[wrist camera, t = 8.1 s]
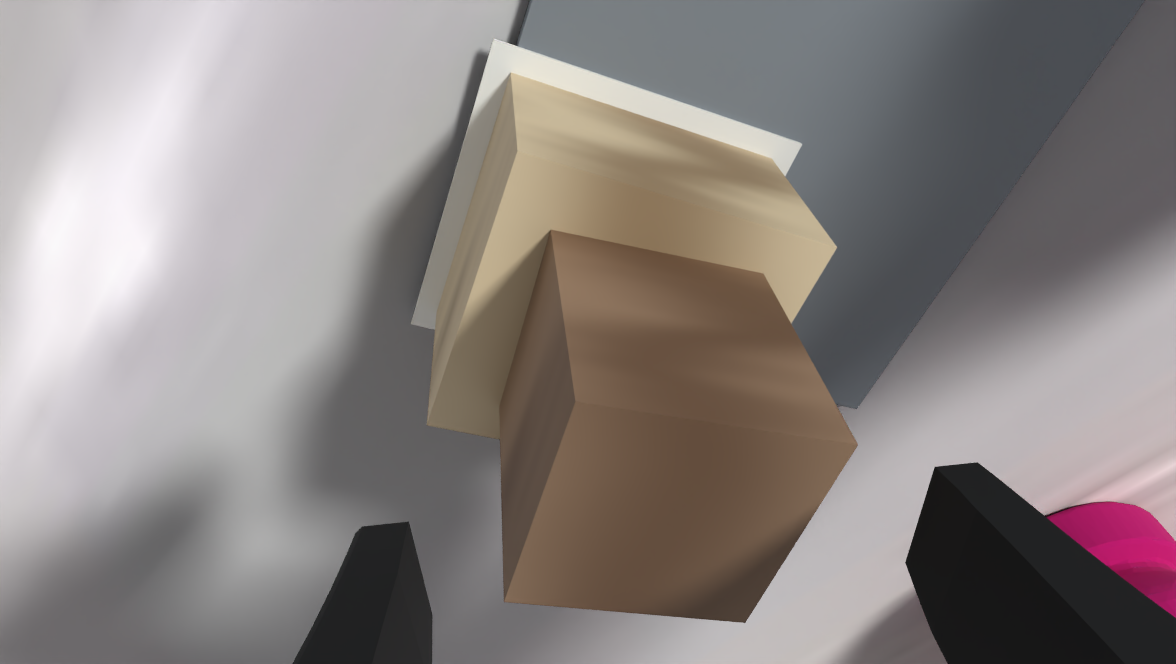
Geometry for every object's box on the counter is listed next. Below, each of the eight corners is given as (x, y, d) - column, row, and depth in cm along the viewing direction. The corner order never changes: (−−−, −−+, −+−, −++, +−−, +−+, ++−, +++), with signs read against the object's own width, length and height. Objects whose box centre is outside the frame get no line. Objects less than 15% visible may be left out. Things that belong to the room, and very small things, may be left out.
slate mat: (1183, -78, 16) (1201, -74, 16) (842, 412, 23) (848, 424, 23) (610, -372, 12) (614, -377, 12) (412, 312, 19) (410, 324, 19)
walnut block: (763, 273, 14) (858, 444, 11) (687, 434, 17) (745, 622, 13) (550, 229, 13) (575, 401, 10) (499, 406, 16) (503, 602, 12)
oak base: (771, 158, 17) (837, 247, 14) (664, 366, 21) (698, 478, 17) (510, 71, 16) (517, 150, 13) (436, 312, 19) (426, 425, 16)
